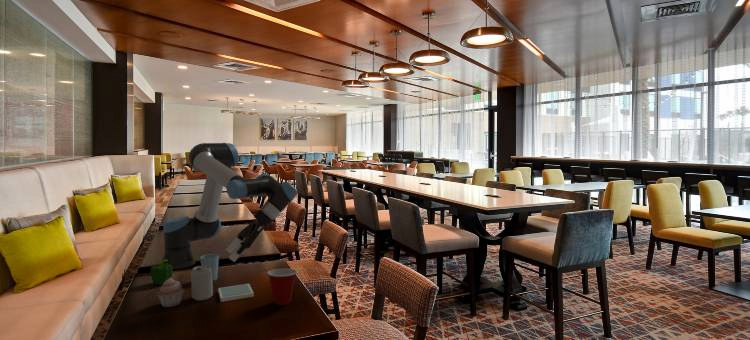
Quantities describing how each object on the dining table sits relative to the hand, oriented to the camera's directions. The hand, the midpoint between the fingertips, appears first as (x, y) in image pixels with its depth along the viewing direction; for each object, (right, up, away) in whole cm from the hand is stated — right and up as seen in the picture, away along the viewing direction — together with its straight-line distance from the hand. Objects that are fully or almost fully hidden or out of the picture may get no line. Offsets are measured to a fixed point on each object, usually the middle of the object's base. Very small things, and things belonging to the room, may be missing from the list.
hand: (229, 255), depth 162 cm
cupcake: (-18, -16, -9) cm, 26 cm away
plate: (+2, -15, 0) cm, 15 cm away
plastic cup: (+23, -16, -9) cm, 29 cm away
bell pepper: (-34, -15, +14) cm, 40 cm away
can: (-9, -16, -3) cm, 19 cm away
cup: (-15, -14, +18) cm, 28 cm away
